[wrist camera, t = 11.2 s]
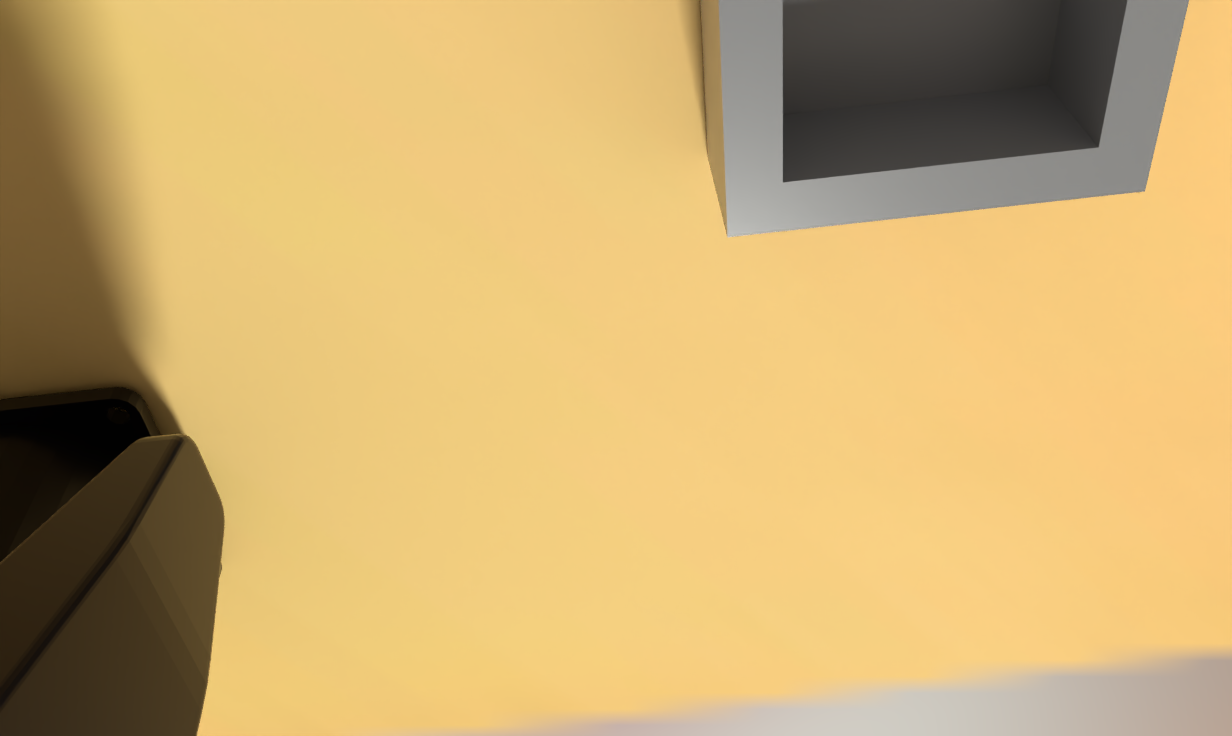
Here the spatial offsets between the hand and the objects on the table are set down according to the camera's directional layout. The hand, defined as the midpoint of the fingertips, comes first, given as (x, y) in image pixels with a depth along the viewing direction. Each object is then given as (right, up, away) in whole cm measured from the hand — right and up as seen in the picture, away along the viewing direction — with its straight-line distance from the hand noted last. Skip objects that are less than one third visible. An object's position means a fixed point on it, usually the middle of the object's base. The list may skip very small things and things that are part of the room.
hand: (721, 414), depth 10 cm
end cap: (+4, +8, +11) cm, 14 cm away
